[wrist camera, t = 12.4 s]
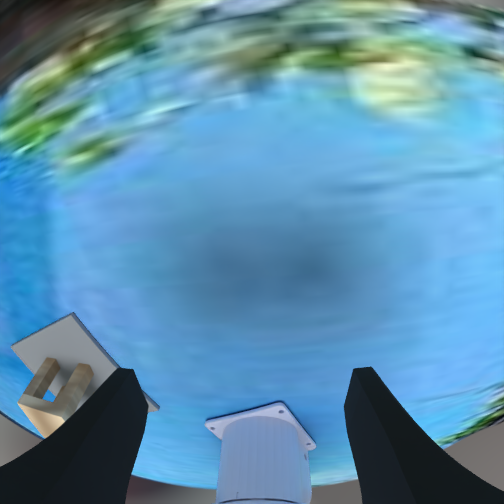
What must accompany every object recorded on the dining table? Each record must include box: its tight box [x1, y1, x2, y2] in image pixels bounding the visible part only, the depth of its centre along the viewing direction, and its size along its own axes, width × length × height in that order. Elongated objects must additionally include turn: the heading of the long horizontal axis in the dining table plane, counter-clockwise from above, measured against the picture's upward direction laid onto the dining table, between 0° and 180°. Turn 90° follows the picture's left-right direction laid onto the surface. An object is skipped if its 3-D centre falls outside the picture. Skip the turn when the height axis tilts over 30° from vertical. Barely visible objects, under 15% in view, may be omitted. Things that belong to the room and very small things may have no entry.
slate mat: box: [11, 313, 160, 412], centre depth 25 cm, size 12×12×1 cm
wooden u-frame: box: [17, 357, 94, 438], centre depth 22 cm, size 5×5×6 cm
